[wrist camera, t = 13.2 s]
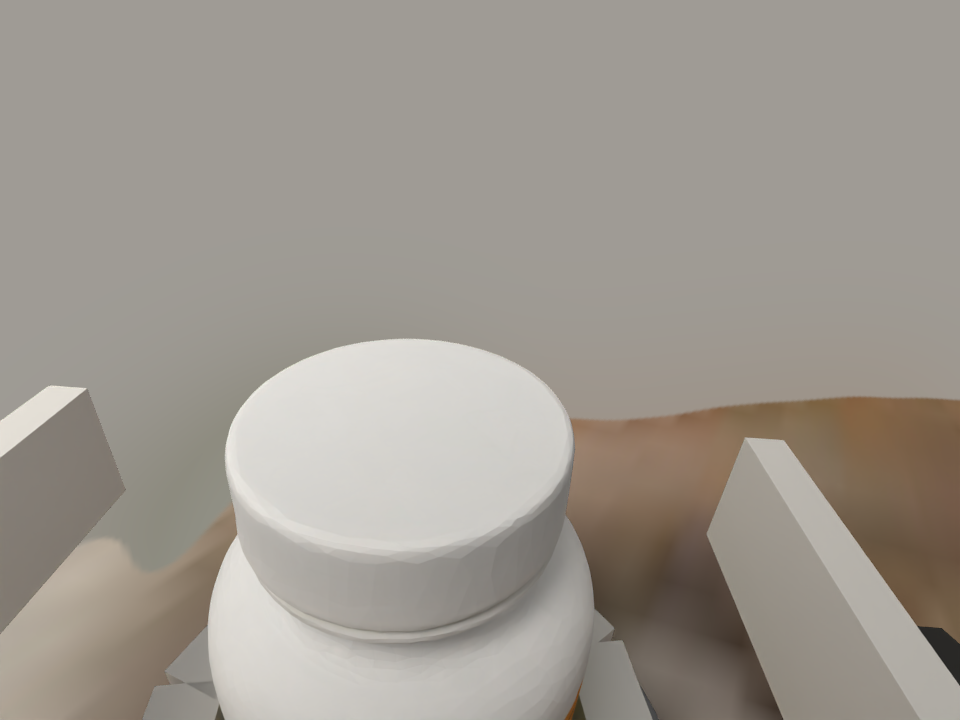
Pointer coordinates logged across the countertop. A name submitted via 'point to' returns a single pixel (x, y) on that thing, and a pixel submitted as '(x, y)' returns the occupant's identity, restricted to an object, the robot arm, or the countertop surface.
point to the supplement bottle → (401, 543)
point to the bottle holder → (597, 716)
